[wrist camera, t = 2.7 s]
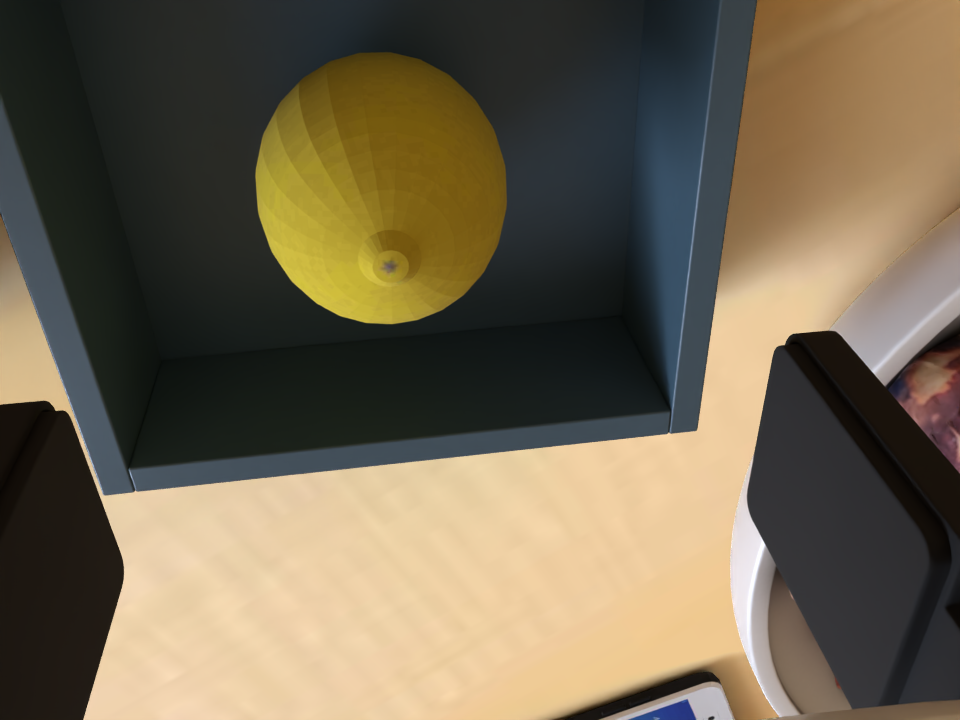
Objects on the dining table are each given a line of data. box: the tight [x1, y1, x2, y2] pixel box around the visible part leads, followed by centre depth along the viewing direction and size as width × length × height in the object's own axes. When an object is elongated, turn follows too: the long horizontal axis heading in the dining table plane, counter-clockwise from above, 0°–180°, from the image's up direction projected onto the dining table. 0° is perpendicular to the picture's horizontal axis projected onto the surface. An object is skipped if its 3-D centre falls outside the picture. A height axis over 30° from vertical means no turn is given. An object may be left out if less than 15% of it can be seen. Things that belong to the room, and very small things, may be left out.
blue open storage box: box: [0, 0, 757, 495], centre depth 21 cm, size 16×15×5 cm
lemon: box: [255, 52, 507, 324], centre depth 20 cm, size 6×6×8 cm
